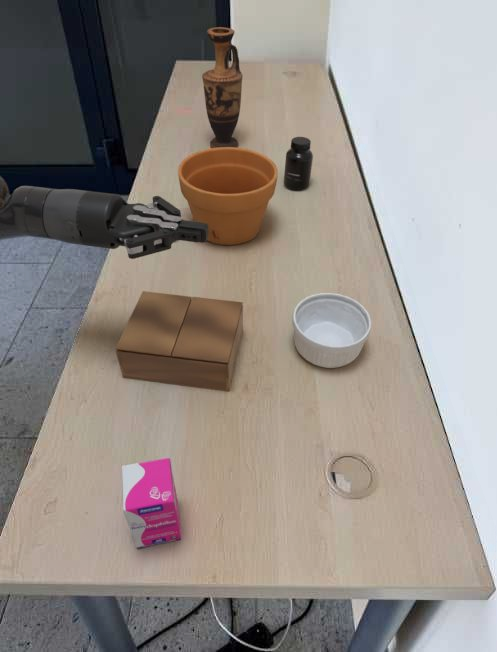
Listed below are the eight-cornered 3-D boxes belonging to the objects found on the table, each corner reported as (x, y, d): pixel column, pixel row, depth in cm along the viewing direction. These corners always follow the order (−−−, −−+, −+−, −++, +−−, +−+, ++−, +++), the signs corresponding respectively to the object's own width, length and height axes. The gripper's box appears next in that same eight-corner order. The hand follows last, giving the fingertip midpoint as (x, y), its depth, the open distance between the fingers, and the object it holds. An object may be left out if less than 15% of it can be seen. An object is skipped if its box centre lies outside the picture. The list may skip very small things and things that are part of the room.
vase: (213, 156, 139) (208, 38, 118) (200, 141, 146) (194, 27, 125) (248, 150, 142) (249, 34, 121) (234, 135, 149) (233, 23, 128)
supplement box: (136, 551, 61) (120, 510, 53) (134, 506, 65) (120, 462, 57) (182, 542, 62) (174, 500, 54) (178, 498, 66) (169, 454, 58)
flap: (170, 356, 75) (170, 355, 75) (115, 349, 76) (115, 348, 76) (191, 297, 85) (191, 296, 85) (142, 292, 86) (142, 291, 86)
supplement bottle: (287, 192, 125) (290, 147, 116) (280, 179, 130) (283, 135, 121) (312, 190, 126) (318, 145, 117) (305, 177, 131) (309, 133, 122)
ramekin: (364, 379, 81) (372, 351, 76) (286, 369, 82) (289, 341, 78) (363, 325, 90) (370, 296, 85) (293, 316, 92) (296, 288, 87)
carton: (229, 391, 79) (228, 362, 74) (122, 377, 81) (114, 348, 76) (242, 331, 89) (243, 302, 84) (147, 320, 91) (142, 290, 86)
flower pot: (292, 227, 113) (298, 167, 103) (230, 267, 102) (229, 205, 92) (227, 195, 123) (226, 138, 113) (164, 229, 112) (157, 169, 102)
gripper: (108, 217, 75) (218, 230, 73) (72, 268, 66) (196, 285, 64) (99, 171, 70) (217, 185, 68) (58, 220, 61) (193, 237, 59)
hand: (207, 233), depth 66 cm, fingers closed
